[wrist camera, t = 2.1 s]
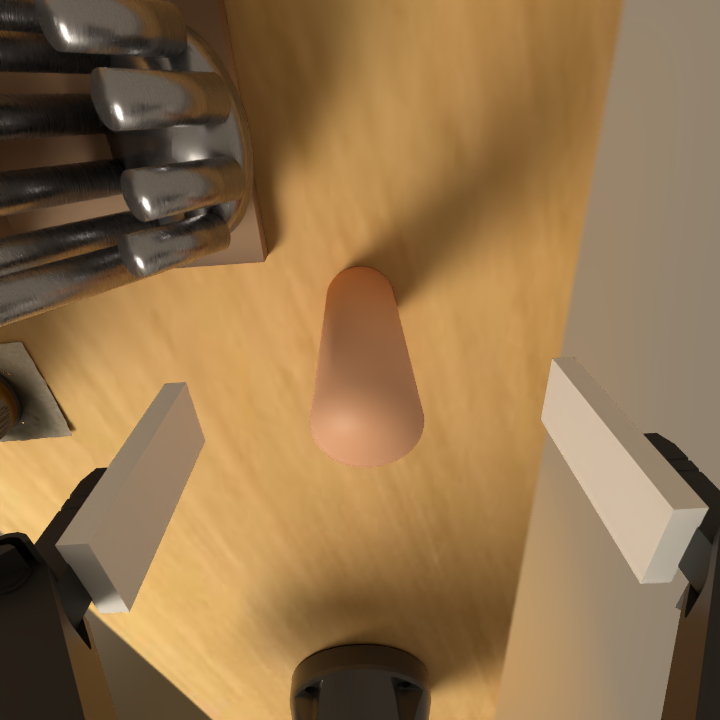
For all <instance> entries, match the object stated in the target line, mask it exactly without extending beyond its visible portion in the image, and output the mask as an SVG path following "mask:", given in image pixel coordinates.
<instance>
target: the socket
mask: <svg viewBox="0 0 720 720" xmlns="http://www.w3.org/2000/svg"><path fill="white" fill-rule="evenodd" d="M0 72H21V73H58V74H91V76H90V92H91V93H45V94H0V141H10V140H24V139H38V138H52V137H66V136H80V135H93V134H105V135H106V138H107V141H108V144H109V147H110V151H111V154H112V157H113V159H106V160H97V161H88V162H80V163H71V164H63V165H54V166H45V167H37V168H28V169H19V170H11V171H2V172H0V216H6V215H11V214H17V213H23V212H28V211H34V210H39V209H45V208H50V207H56V206H61V205H67V204H73V203H78V202H84V201H89V200H95V199H100V198H106V197H111V196H117V195H122V194H123V197H124V200H125V202H126V204H127V206H128V208H129V209H130V210H128V211H123V212H119V213H114V214H109V215H104V216H100V217H95V218H90V219H85V220H81V221H76V222H71V223H66V224H61V225H57V226H52V227H47V228H42V229H38V230H33V231H28V232H23V233H19V234H14V235H9V236H4V237H0V327H3V326H6V325H9V324H12V323H14V322H17V321H20V320H23V319H26V318H29V317H32V316H35V315H38V314H41V313H44V312H47V311H50V310H53V309H56V308H59V307H62V306H65V305H68V304H71V303H73V302H76V301H79V300H82V299H85V298H88V297H91V296H94V295H97V294H100V293H103V292H106V291H109V290H112V289H115V288H118V287H121V286H124V285H127V284H129V283H132V282H135V281H138V280H141V279H144V278H147V277H150V276H153V275H156V274H159V273H162V272H165V271H168V270H171V269H174V268H177V267H180V266H183V265H185V264H188V263H191V262H194V261H196V259H199V258H202V257H205V256H208V255H211V254H214V253H217V252H220V251H223V250H226V249H227V248H228V247H229V245H230V241H231V236H230V233H231V232H232V231H234V230H235V229H236V227H237V226H238V225H239V224H240V222H241V221H242V219H243V218H244V216H245V213H246V211H247V209H248V206H249V202H250V198H251V194H252V187H253V176H254V161H253V148H252V141H251V135H250V130H249V125H248V121H247V117H246V114H245V111H244V107H243V104H242V101H241V99H240V96H239V94H238V91H237V88H236V86H235V84H234V82H233V80H232V78H231V76H230V74H229V72H228V70H227V69H226V67H225V65H224V64H223V62H222V60H221V59H220V57H219V56H218V55H217V53H216V52H215V51H214V49H213V48H212V47H211V46H210V44H209V43H208V42H207V41H206V40H205V39H204V38H203V37H202V36H201V35H200V34H199V33H197V32H196V31H195V30H194V29H193V28H191V27H189V26H188V25H186V24H185V21H184V19H183V16H182V14H181V12H180V11H179V9H178V8H177V7H176V6H175V5H174V4H173V3H171V2H167V1H161V0H0Z"/></svg>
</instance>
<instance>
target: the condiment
mask: <svg viewBox="0 0 720 720" xmlns="http://www.w3.org/2000/svg"><path fill="white" fill-rule="evenodd" d="M0 370H3V371H4V372H5V373H2V372H1V371H0V442H5V441H17V440H21V441H24V440H30V439H39V438H48V437H63V436H72V434H71V432H70V430H69V428H68V426H67V422H66V421H65V419H64V417H63V415H62V413H61V411H60V409H59V408H58V406H57V403H56V401H55V399H54V398H53V396H52V394H51V392H50V391H49V389H48V387H47V384H46V381H45V380H44V379H43V378H42V377H41V375H40V374H39V372H38V370H37V368H36V366H35V364H34V362H33V360H32V359H31V358H30V356H29V355H28V353H27V351H26V349H25V348H24V346H23V344H22V342H14V343H7V344H0ZM7 372H8V373H11V374H12V375H13V376H11V375H8V374H7ZM22 422H24V424H23V423H22Z"/></svg>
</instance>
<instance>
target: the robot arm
mask: <svg viewBox="0 0 720 720" xmlns="http://www.w3.org/2000/svg"><path fill="white" fill-rule="evenodd" d="M541 421H542V422H543V424H544V426H545V427H546V429H547V431H548V432H549V434H550V436H551V437H552V439H553V440H554V442H555V444H556V445H557V447H558V449H559V450H560V452H561V454H562V455H563V457H564V459H565V460H566V462H567V464H568V465H569V467H570V469H571V470H572V472H573V473H574V475H575V477H576V478H577V480H578V482H579V483H580V485H581V486H582V488H583V490H584V492H585V493H586V495H587V497H588V498H589V500H590V501H591V503H592V505H593V506H594V508H595V510H596V511H597V513H598V514H599V516H600V518H601V519H602V521H603V523H604V524H605V526H606V528H607V529H608V531H609V533H610V534H611V536H612V538H613V539H614V541H615V543H616V544H617V546H618V547H619V549H620V551H621V553H622V554H623V556H624V557H625V559H626V561H627V562H628V564H629V566H630V567H631V569H632V571H633V572H634V574H635V576H636V577H637V578H638V581H639V582H640V584H649V583H667V582H671V581H672V580H673V578H674V576H675V574H676V572H677V570H678V568H680V570H681V571H682V572H683V574H684V575H685V577H686V578H687V579H688V581H689V583H688V585H687V587H686V589H685V591H684V592H683V594H682V596H681V598H680V600H679V602H678V603H677V605H676V608H678V609H680V610H681V614H680V619H679V625H678V630H677V636H676V641H675V646H674V652H673V657H672V663H671V668H670V674H669V680H668V684H667V690H666V695H665V701H664V706H663V712H662V717H661V720H720V491H719V490H718V488H717V487H716V486H715V485H714V484H713V483H712V482H711V481H710V480H709V479H708V478H707V477H706V476H705V475H704V474H703V473H702V472H699V469H698V468H697V467H696V466H695V465H694V464H693V462H692V461H689V460H688V457H687V456H686V455H685V454H684V453H683V452H682V451H681V450H680V449H679V448H678V447H677V446H676V445H675V444H674V443H672V442H670V441H669V440H667V439H665V438H664V437H662V436H661V435H659V434H658V433H648V434H643V433H642V432H641V431H640V430H639V429H638V428H637V427H636V426H635V425H634V423H633V422H632V421H631V420H630V419H629V418H628V417H627V416H626V414H624V412H623V411H622V410H621V409H620V408H619V407H618V405H617V404H616V403H615V402H614V401H613V400H612V399H611V398H610V397H609V395H608V394H607V393H606V392H605V391H604V390H603V389H602V388H601V386H599V384H598V383H597V382H596V381H595V380H594V379H593V378H592V376H591V375H590V374H589V373H588V372H587V371H586V370H585V369H584V367H583V366H582V365H581V364H580V363H579V362H578V361H577V360H576V359H575V357H567V358H552V363H551V369H550V374H549V379H548V385H547V390H546V395H545V401H544V406H543V411H542V417H541ZM204 442H205V439H204V436H203V433H202V429H201V426H200V423H199V420H198V417H197V414H196V411H195V408H194V405H193V402H192V399H191V396H190V393H189V390H188V387H187V384H186V382H182V383H167V384H164V386H163V387H162V389H161V390H160V392H159V393H158V395H157V396H156V398H155V399H154V401H153V402H152V404H151V405H150V407H149V408H148V409H147V411H146V412H145V414H144V415H143V417H142V418H141V420H140V421H139V423H138V424H137V426H136V427H135V429H134V430H133V432H132V433H131V434H130V436H129V437H128V439H127V440H126V442H125V443H124V445H123V446H122V448H121V449H120V451H119V452H118V454H117V455H116V457H115V458H114V460H113V461H112V462H111V464H110V465H109V467H108V468H96V469H95V470H94V471H93V472H91V473H90V474H89V475H88V476H86V477H85V478H84V479H83V480H82V481H80V483H79V484H78V485H77V487H76V488H75V490H74V491H73V492H72V494H71V495H70V499H67V501H66V502H65V503H64V505H63V506H62V507H61V511H59V512H58V513H57V514H56V516H55V517H54V518H53V520H52V521H51V523H50V524H49V525H48V527H47V528H46V529H45V531H44V532H43V534H42V535H41V536H40V538H39V539H38V540H37V542H36V543H35V545H34V544H33V543H32V542H31V540H30V539H29V537H28V536H27V535H26V534H23V533H19V532H16V533H9V534H5V535H2V536H0V720H118V717H117V714H116V711H115V707H114V704H113V701H112V697H111V694H110V691H109V688H108V685H107V681H106V678H105V675H104V672H103V668H102V665H101V662H100V658H99V655H98V652H97V649H96V646H95V642H94V639H93V636H92V633H91V629H90V626H89V622H88V621H87V619H86V618H85V617H84V614H85V612H86V611H87V609H88V607H89V605H90V603H91V601H92V602H93V603H94V605H95V606H96V608H97V609H98V611H99V612H100V613H117V612H130V610H131V607H132V605H133V603H134V600H135V598H136V596H137V594H138V591H139V589H140V587H141V585H142V582H143V580H144V578H145V576H146V573H147V571H148V569H149V567H150V564H151V562H152V560H153V558H154V555H155V553H156V551H157V548H158V546H159V544H160V542H161V539H162V537H163V535H164V533H165V530H166V528H167V526H168V524H169V521H170V519H171V517H172V515H173V512H174V510H175V508H176V505H177V503H178V501H179V499H180V496H181V494H182V492H183V490H184V487H185V485H186V483H187V481H188V478H189V476H190V474H191V472H192V469H193V467H194V465H195V463H196V460H197V458H198V456H199V453H200V451H201V449H202V447H203V444H204ZM430 705H431V693H430V686H429V678H428V673H427V670H426V668H425V667H424V665H423V664H422V663H421V662H420V661H419V660H418V659H416V658H415V657H413V656H412V655H410V654H408V653H405V652H403V651H400V650H397V649H393V648H389V647H384V646H376V645H351V646H343V647H337V648H333V649H329V650H325V651H323V652H320V653H317V654H315V655H313V656H311V657H309V658H308V659H306V660H305V661H303V662H302V663H301V664H300V665H299V666H298V667H297V668H296V670H295V671H294V673H293V676H292V684H291V693H290V709H291V715H292V720H429V713H430Z"/></svg>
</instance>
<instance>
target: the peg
mask: <svg viewBox="0 0 720 720" xmlns="http://www.w3.org/2000/svg"><path fill="white" fill-rule="evenodd" d="M423 427H424V414H423V410H422V406H421V402H420V398H419V394H418V390H417V386H416V382H415V378H414V374H413V370H412V366H411V362H410V358H409V354H408V350H407V346H406V342H405V337H404V333H403V329H402V325H401V321H400V317H399V313H398V309H397V305H396V301H395V297H394V293H393V289H392V286H391V284H390V282H389V281H388V279H387V278H386V277H385V276H384V275H383V274H382V273H380V272H379V271H377V270H375V269H372V268H369V267H363V266H358V267H352V268H348V269H346V270H344V271H342V272H341V273H339V274H338V275H337V276H336V277H335V278H334V279H333V280H332V282H331V284H330V285H329V288H328V291H327V297H326V305H325V312H324V320H323V327H322V335H321V342H320V349H319V357H318V364H317V372H316V379H315V387H314V394H313V402H312V409H311V417H310V429H311V433H312V436H313V439H314V441H315V442H316V444H317V445H318V447H319V448H320V449H321V450H322V451H323V452H324V453H325V454H326V455H328V456H329V457H330V458H332V459H334V460H336V461H338V462H340V463H342V464H346V465H349V466H354V467H378V466H382V465H386V464H389V463H392V462H394V461H396V460H398V459H400V458H402V457H403V456H405V455H406V454H407V453H408V452H409V451H411V450H412V449H413V447H414V446H415V445H416V444H417V442H418V440H419V439H420V437H421V434H422V431H423Z"/></svg>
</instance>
